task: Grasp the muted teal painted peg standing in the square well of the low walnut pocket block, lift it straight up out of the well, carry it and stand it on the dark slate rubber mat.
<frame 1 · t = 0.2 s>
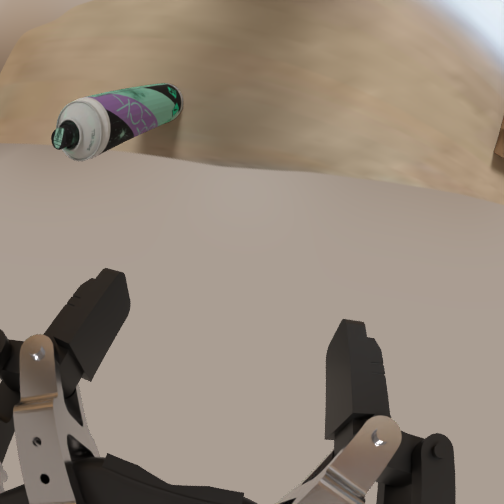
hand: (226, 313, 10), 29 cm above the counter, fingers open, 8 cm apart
spray can: (165, 102, 33), on the counter
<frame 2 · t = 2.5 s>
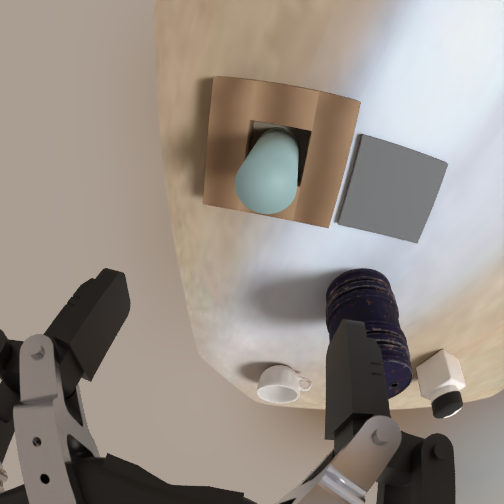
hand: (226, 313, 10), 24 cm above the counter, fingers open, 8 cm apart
pocket block: (278, 146, 30), on the counter
medicine bottle: (437, 362, 46), on the counter
peg: (278, 146, 30), resting in pocket block
teacup: (286, 370, 53), on the counter
mat: (393, 191, 30), on the counter
storage jar: (358, 294, 40), on the counter
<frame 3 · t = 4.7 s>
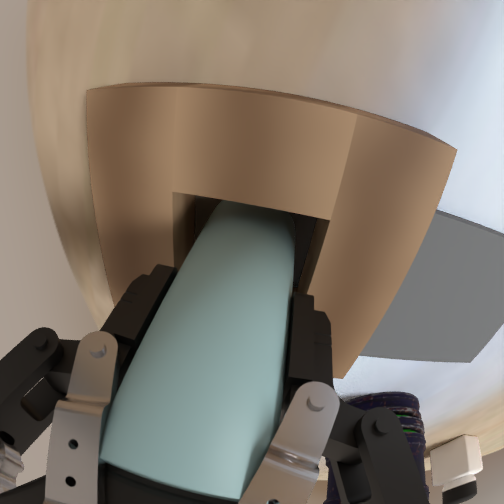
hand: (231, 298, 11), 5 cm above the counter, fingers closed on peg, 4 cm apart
pocket block: (251, 232, 15), on the counter
medicine bottle: (454, 442, 31), on the counter
peg: (251, 232, 15), resting in pocket block, touching gripper
mat: (459, 303, 15), on the counter
storage jar: (374, 412, 25), on the counter
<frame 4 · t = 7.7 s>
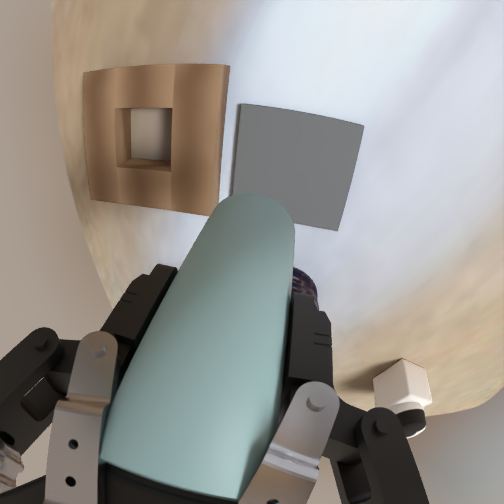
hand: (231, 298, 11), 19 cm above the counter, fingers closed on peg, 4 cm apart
pocket block: (155, 132, 26), on the counter
medicine bottle: (399, 372, 42), on the counter
peg: (251, 232, 15), point 14 cm above the counter, touching gripper
mat: (294, 168, 27), on the counter
storage jar: (278, 294, 36), on the counter
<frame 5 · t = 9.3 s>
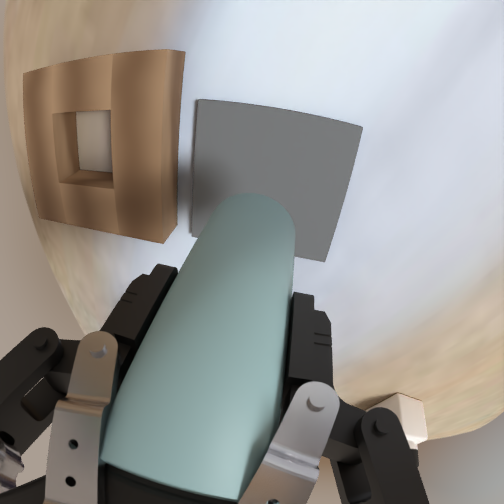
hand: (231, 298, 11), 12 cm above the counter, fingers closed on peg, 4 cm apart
pocket block: (102, 139, 20), on the counter
medicine bottle: (393, 405, 37), on the counter
peg: (251, 233, 15), point 7 cm above the counter, touching gripper
mat: (269, 182, 21), on the counter
when the fingers open (6 cm above the counter, at t = 10.8 s): peg stays where it is, resting on mat.
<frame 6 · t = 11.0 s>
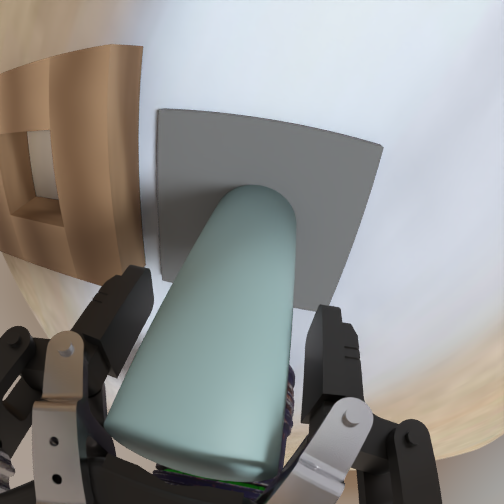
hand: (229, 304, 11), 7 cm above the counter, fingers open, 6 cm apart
pocket block: (55, 161, 16), on the counter
peg: (254, 223, 16), point 1 cm above the counter, touching mat
mat: (255, 218, 16), on the counter
storage jar: (242, 373, 25), on the counter
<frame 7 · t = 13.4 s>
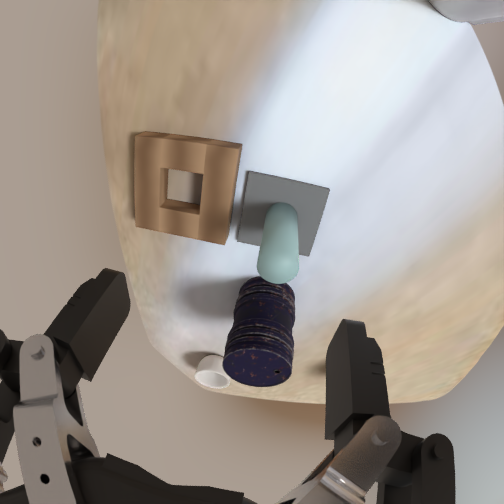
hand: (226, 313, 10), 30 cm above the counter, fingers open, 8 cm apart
pocket block: (187, 183, 40), on the counter
peg: (281, 216, 41), point 1 cm above the counter, touching mat
teacup: (221, 360, 63), on the counter
mat: (281, 214, 41), on the counter
storage jar: (266, 297, 50), on the counter
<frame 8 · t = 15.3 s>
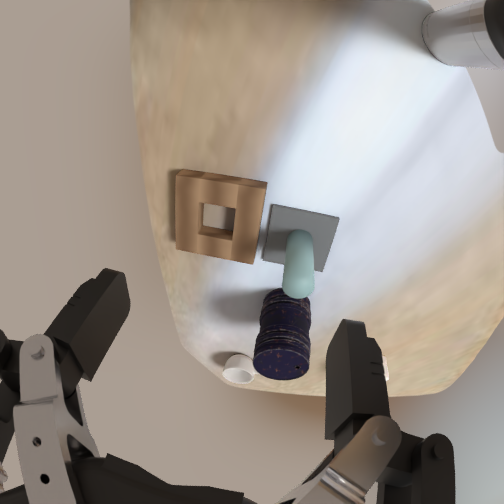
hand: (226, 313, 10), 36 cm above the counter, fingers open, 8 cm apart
pocket block: (220, 213, 49), on the counter
peg: (299, 240, 49), point 1 cm above the counter, touching mat
teacup: (245, 358, 72), on the counter
mat: (299, 238, 50), on the counter
storage jar: (286, 304, 59), on the counter
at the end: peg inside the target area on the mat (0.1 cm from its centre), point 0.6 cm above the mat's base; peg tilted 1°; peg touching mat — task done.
